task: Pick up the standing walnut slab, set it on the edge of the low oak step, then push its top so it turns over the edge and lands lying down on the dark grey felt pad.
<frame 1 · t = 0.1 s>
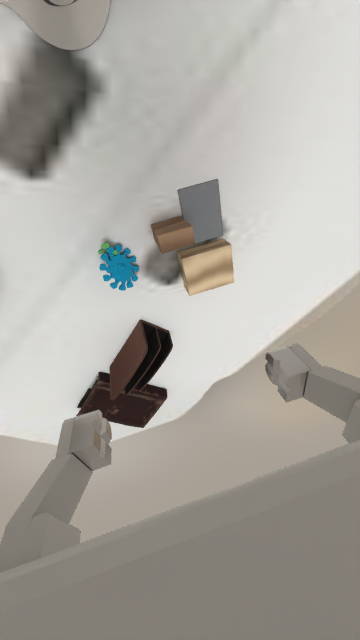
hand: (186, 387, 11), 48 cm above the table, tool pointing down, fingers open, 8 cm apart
oak step: (203, 264, 60), on the table
blue lobed piece: (118, 260, 55), on the table
letter holder: (138, 348, 71), on the table
diary: (122, 395, 82), on the table
felt pad: (201, 214, 53), on the table
walnut slab: (167, 228, 53), on the table
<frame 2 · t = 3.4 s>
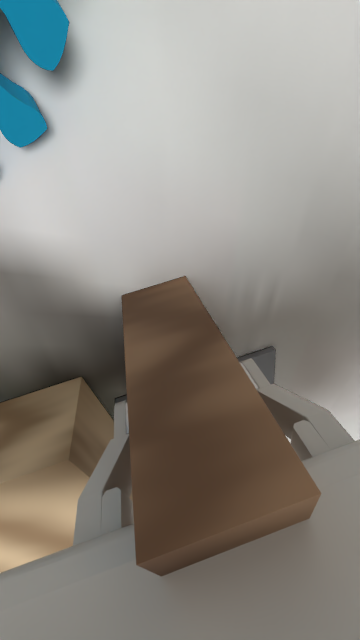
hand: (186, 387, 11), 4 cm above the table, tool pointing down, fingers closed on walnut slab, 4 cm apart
oak step: (53, 447, 18), on the table
felt pad: (204, 406, 19), on the table
walnut slab: (169, 334, 14), on the table, touching gripper
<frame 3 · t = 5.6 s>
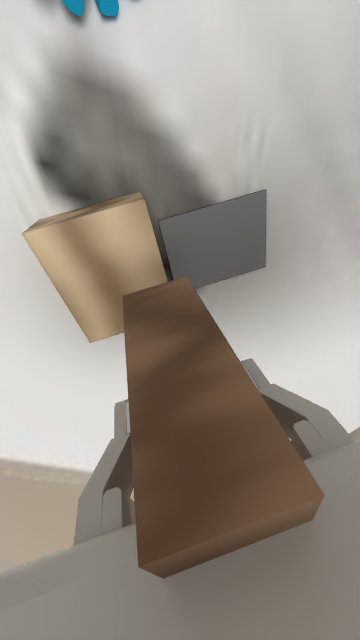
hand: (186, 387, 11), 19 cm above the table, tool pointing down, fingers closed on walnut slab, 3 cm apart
oak step: (114, 262, 26), on the table
felt pad: (216, 245, 27), on the table
walnut slab: (170, 335, 14), point 15 cm above the table, touching gripper
when the fingers open (10 cm above the table, at t = 7.5 s): walnut slab stays where it is, resting on oak step.
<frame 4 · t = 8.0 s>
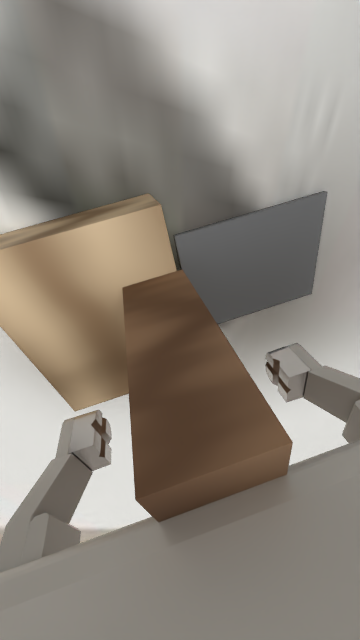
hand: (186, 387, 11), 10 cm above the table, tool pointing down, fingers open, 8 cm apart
oak step: (109, 294, 18), on the table
felt pad: (251, 267, 20), on the table
walnut slab: (167, 326, 15), point 5 cm above the table, touching oak step
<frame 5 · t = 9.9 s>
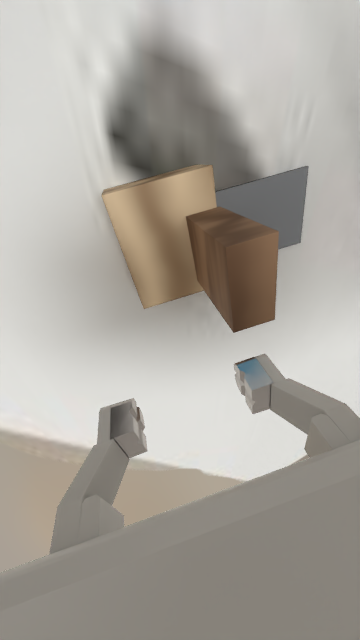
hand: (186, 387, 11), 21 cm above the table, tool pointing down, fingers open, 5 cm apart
oak step: (164, 234, 27), on the table
felt pad: (258, 220, 29), on the table
walnut slab: (207, 246, 24), point 5 cm above the table, touching oak step
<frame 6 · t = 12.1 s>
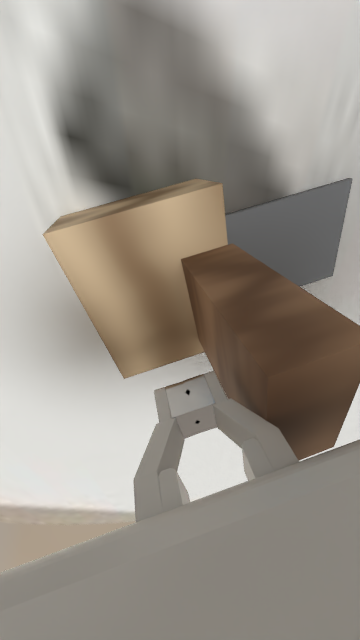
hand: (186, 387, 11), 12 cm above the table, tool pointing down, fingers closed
oak step: (153, 273, 20), on the table
felt pad: (280, 250, 22), on the table
walnut slab: (213, 297, 17), point 5 cm above the table, touching gripper, oak step
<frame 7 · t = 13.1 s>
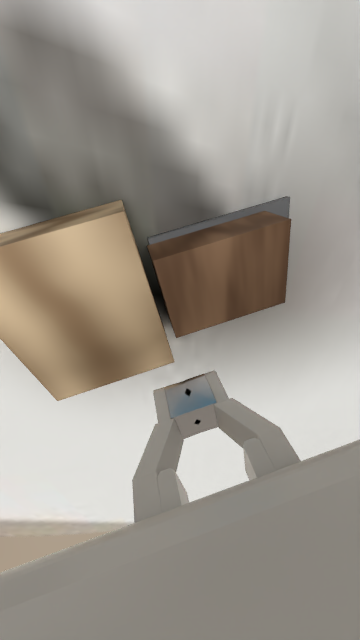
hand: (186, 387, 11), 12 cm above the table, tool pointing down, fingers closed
oak step: (90, 292, 20), on the table
felt pad: (224, 267, 21), on the table
walnut slab: (162, 293, 19), point 2 cm above the table, tilted 90°, touching felt pad
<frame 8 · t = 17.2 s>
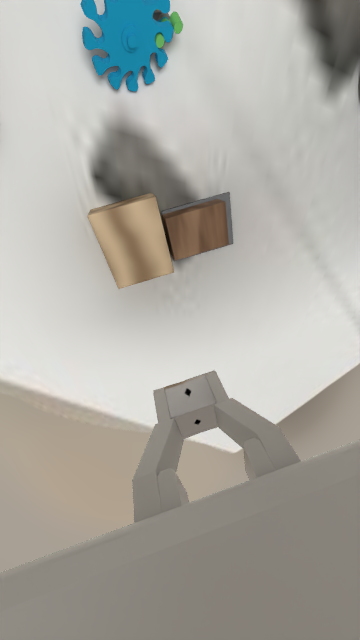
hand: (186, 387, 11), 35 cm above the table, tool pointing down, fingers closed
oak step: (133, 238, 40), on the table
blue lobed piece: (131, 48, 28), on the table
felt pad: (199, 228, 42), on the table
walnut slab: (168, 238, 39), point 2 cm above the table, tilted 90°, touching felt pad
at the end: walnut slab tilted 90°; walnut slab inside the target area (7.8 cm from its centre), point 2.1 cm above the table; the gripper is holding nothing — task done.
